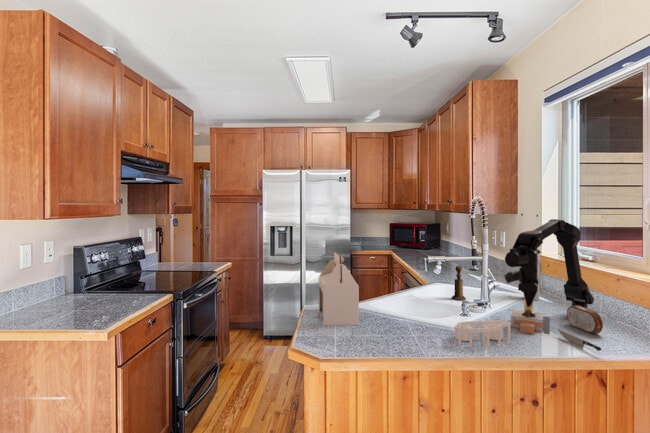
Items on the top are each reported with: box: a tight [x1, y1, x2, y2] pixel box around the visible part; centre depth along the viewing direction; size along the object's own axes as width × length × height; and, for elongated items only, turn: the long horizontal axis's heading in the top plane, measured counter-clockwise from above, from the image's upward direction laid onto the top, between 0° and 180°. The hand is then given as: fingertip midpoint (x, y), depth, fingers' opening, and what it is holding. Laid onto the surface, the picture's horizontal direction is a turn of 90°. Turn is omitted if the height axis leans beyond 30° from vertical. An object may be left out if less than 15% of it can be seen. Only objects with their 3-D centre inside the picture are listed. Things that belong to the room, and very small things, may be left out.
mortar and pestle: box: [451, 265, 467, 302], centre depth 186 cm, size 7×6×18 cm
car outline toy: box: [454, 319, 512, 349], centre depth 126 cm, size 20×11×7 cm, turn 96°
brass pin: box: [523, 295, 534, 317], centre depth 145 cm, size 3×3×10 cm
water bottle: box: [533, 253, 544, 302], centre depth 190 cm, size 9×8×25 cm
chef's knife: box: [557, 328, 602, 352], centre depth 124 cm, size 19×1×3 cm, turn 4°
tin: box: [566, 305, 604, 334], centre depth 142 cm, size 15×3×8 cm, turn 4°
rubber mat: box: [543, 315, 551, 335], centre depth 150 cm, size 26×14×1 cm, turn 149°
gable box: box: [318, 251, 360, 326], centre depth 150 cm, size 22×13×28 cm, turn 6°
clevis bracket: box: [510, 309, 544, 335], centre depth 143 cm, size 16×10×5 cm
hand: (528, 305), depth 145 cm, fingers closed on brass pin, 3 cm apart
